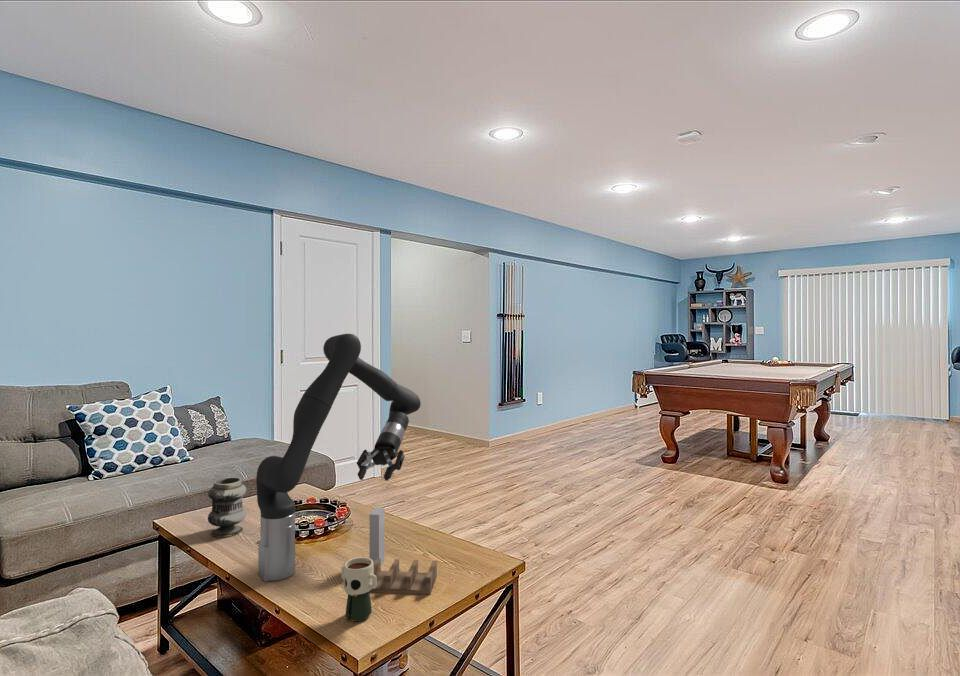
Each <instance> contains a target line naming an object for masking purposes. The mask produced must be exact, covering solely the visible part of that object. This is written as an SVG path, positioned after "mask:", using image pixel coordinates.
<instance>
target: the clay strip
mask: <svg viewBox="0 0 960 676" xmlns="http://www.w3.org/2000/svg"><path fill="white" fill-rule="evenodd" d="M368 552H369V553H368V554H369V557H368V558H370V559H372V561H373V563H374V562H375V560H376V558H377V559H381V566H382V565H383V564H384V562H385V507H374V509H372V511H371V512H370V514H369V551H368Z"/></svg>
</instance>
